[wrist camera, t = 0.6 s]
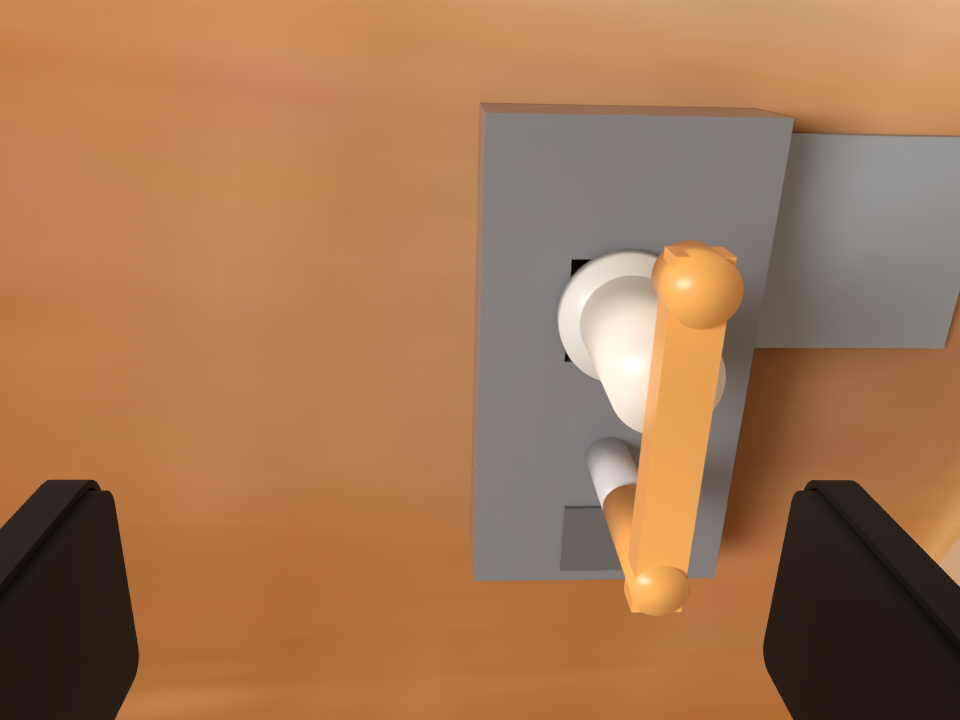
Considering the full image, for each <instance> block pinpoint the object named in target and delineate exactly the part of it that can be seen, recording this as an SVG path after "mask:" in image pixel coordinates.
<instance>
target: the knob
mask: <svg viewBox="0 0 960 720" xmlns="http://www.w3.org/2000/svg"><path fill="white" fill-rule="evenodd" d="M657 258H658V256H657V255H655V254H652V253H649V252H646V251H641V250H634V249H622V250H616V251H611V252H607V253H604V254H602V255H599V256H597V257H595V258H593V259H576V260H575V261H574V263H573V264H572V266H571V277H570V280H569V281H568V282H567V284H566V286H565V287H564V289H563V292H562V294H561V296H560V299H559V303H558V308H557V326H558V331H559V335H560V338H561V341H562V343H563V346H564V348H565V350H566V352H567V354H568V356H569V357H570V359H571V360H572V362H573V363H574V364H575V365H576V366H577V367H578V368H579V369H580V370H581V371H583V372H584V373H586V374H587V375H589V376H591V377H593V378H595V379H597V380H600V381H601V383H602V385H603V387H604V389H605V391H606V394H607V396H608V398H609V400H610V402H611V405H612V407H613V409H614V411H615V413H616V414H617V416H618V417H619V418H620V419H621V420H622V421H623V422H624V423H625V424H626V425H627V426H629V427H630V428H632V429H634V430H636V431H638V432H640V433H643V426H644V417H645V409H646V400H647V392H648V384H649V375H650V367H651V358H652V350H653V342H654V333H655V325H656V316H657V308H658V300H659V297H658V296H657V295H656V293H655V291H654V289H653V286H652V281H651V274H652V269H653V266H654V263H655V261H656V259H657ZM725 382H726V370H725V365H724V361H723V359H722V356H721V362H720V368H719V375H718V381H717V387H716V394H715V400H714V406H713V410H714V409H715V407H716V406H717V405H718V403H719V401H720V399H721V397H722V394H723V392H724V388H725Z"/></svg>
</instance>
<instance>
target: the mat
mask: <svg viewBox="0 0 960 720" xmlns="http://www.w3.org/2000/svg"><path fill="white" fill-rule="evenodd" d="M959 292H960V136H937V135H881V134H825V133H792V136H791V141H790V147H789V153H788V159H787V164H786V170H785V176H784V182H783V187H782V193H781V199H780V204H779V210H778V216H777V222H776V227H775V233H774V239H773V245H772V250H771V256H770V262H769V267H768V273H767V279H766V285H765V290H764V296H763V302H762V308H761V313H760V319H759V325H758V330H757V336H756V342H755V348H944V346H945V342H946V339H947V335H948V331H949V328H950V324H951V321H952V317H953V313H954V310H955V306H956V303H957V299H958V296H959Z"/></svg>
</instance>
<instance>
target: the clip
mask: <svg viewBox="0 0 960 720" xmlns="http://www.w3.org/2000/svg"><path fill="white" fill-rule="evenodd" d="M736 260H737V257H736V256H735V255H733V254H732V253H731V252H729V251H728V250H727V249H726V248H724V247H713V246H709V245H707V244H705V243H703V242H701V241H697V240H683V241H679V242H676V243H674V244H672V245H670V246H665V249H664V251H663V252H662V253H661V254H660V255H659V256H658V258H657V259H656V261H655V263H654V266H653V269H652V274H651V281H652V286H653V289H654V291H655V293H656V295H657V296H658V297H659V300H658V308H657V316H656V325H655V333H654V342H653V350H652V358H651V367H650V375H649V384H648V392H647V400H646V409H645V417H644V426H643V434H642V442H641V451H640V459H639V468H638V476H637V484H636V485H623V486H619V487H617V488H615V489H613V490H612V491H611V492H610V493H609V494H608V495H607V496H606V497H605V499H604V502H603V513H604V516H605V519H606V522H607V525H608V528H609V531H610V534H611V537H612V540H613V542H614V545H615V548H616V551H617V554H618V557H619V560H620V563H621V566H622V569H623V572H624V575H625V585H624V592H625V595H626V598H627V601H628V604H629V607H630V610H631V612H643V613H645V614H648V615H653V616H662V615H667V614H670V613H672V612H681V610H682V605H683V604H684V603H685V602H686V600H687V598H688V596H689V584H688V582H687V579H686V578H687V572H688V565H689V559H690V553H691V546H692V540H693V533H694V527H695V521H696V514H697V508H698V502H699V495H700V489H701V483H702V476H703V470H704V464H705V457H706V451H707V444H708V438H709V432H710V425H711V419H712V413H713V406H714V400H715V394H716V387H717V381H718V375H719V368H720V362H721V355H722V349H723V343H724V336H725V330H726V324H727V320H728V319H730V318H731V317H732V316H733V315H734V313H735V312H736V311H737V309H738V308H739V306H740V304H741V301H742V298H743V292H744V285H743V280H742V277H741V275H740V273H739V271H738V270H737V269H736V268H735V266H736Z"/></svg>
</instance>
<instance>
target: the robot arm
mask: <svg viewBox="0 0 960 720" xmlns="http://www.w3.org/2000/svg"><path fill="white" fill-rule="evenodd" d="M763 655H764V661H765V665H766V668H767V671H768V673H769V675H770V677H771V679H772V681H773V682H774V684H775V686H776V688H777V690H778V692H779V694H780V696H781V697H782V699H783V701H784V703H785V705H786V707H787V709H788V711H789V712H790V714H791V716H792V718H793V720H960V587H959V586H958V585H957V584H956V583H955V582H954V581H953V580H952V579H951V578H950V577H949V576H948V575H947V574H946V573H945V572H944V571H943V570H942V568H941V567H940V566H939V565H938V564H937V563H936V562H935V561H934V560H933V559H932V558H931V557H930V556H929V555H928V554H927V553H926V552H925V551H924V550H923V549H922V548H921V547H920V546H919V545H918V544H917V543H916V542H915V541H914V540H913V539H912V538H911V537H910V536H909V535H908V534H907V533H906V532H905V531H904V530H903V529H902V528H901V527H900V526H899V525H898V524H897V523H896V522H895V521H894V520H893V519H892V518H891V517H890V515H889V514H888V513H887V512H886V511H885V510H884V509H883V508H882V507H881V506H880V505H879V504H878V503H877V502H876V501H875V500H874V499H873V498H872V497H871V496H870V495H869V494H868V493H867V492H866V491H865V490H864V489H863V488H862V487H861V486H860V485H859V484H858V483H856V482H855V481H850V480H812V481H810V482H809V483H808V484H807V485H806V487H805V489H804V491H797V492H796V493H795V494H794V496H793V499H792V502H791V507H790V512H789V517H788V522H787V527H786V533H785V538H784V543H783V548H782V553H781V558H780V563H779V568H778V573H777V578H776V583H775V588H774V593H773V598H772V603H771V608H770V613H769V618H768V623H767V628H766V633H765V639H764V645H763ZM138 662H139V650H138V643H137V637H136V631H135V625H134V619H133V612H132V606H131V600H130V594H129V588H128V582H127V576H126V569H125V563H124V557H123V551H122V545H121V539H120V533H119V526H118V520H117V514H116V508H115V502H114V498H113V495H112V494H111V492H109V491H101V489H100V487H99V485H98V483H97V482H96V481H94V480H47V481H46V482H44V483H43V484H42V485H41V486H40V487H39V488H38V489H37V490H36V491H35V492H34V494H33V495H32V496H31V497H30V498H29V499H28V500H27V501H26V502H25V503H24V504H23V505H22V506H21V507H20V509H19V510H18V511H17V512H16V513H15V514H14V515H13V516H12V517H11V518H10V519H9V520H8V521H7V522H6V523H5V525H4V526H3V527H2V528H1V529H0V720H115V718H116V716H117V714H118V711H119V709H120V707H121V705H122V703H123V701H124V699H125V697H126V695H127V693H128V691H129V689H130V687H131V685H132V683H133V681H134V678H135V676H136V672H137V668H138Z"/></svg>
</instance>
